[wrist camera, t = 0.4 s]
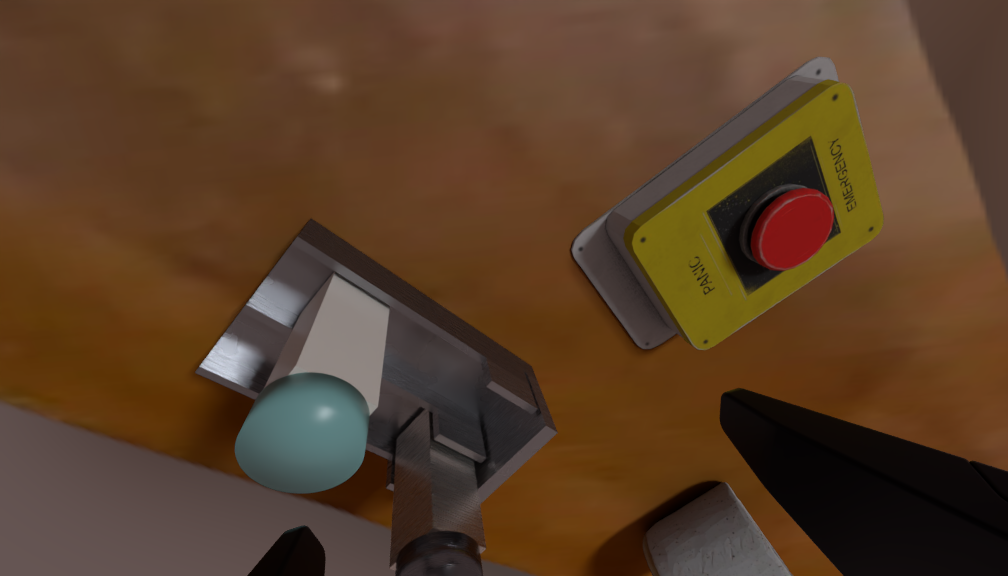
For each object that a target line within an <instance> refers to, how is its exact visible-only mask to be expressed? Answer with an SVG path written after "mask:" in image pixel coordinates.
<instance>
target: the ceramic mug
mask: <svg viewBox="0 0 1008 576" xmlns="http://www.w3.org/2000/svg"><path fill="white" fill-rule="evenodd" d="M643 551H644V554H645V557H646V560H647V563H648V566H649V568H650V570H651V573H652V575H653V576H793V575H792V574H791V573H790V571H789V570H788V568H787V567H786V565H785V564H784V563H783V561H782V560H781V558H780V557H779V555H778V554H777V553H776V551H775V550H774V548H773V547H772V546H771V544H770V543H769V541H768V540H767V539H766V537H765V536H764V535H763V533H762V532H761V530H760V529H759V527H758V526H757V525H756V523H755V522H754V520H753V519H752V517H751V516H750V514H749V513H748V512H747V510H746V509H745V507H744V506H743V505H742V503H741V501H740V500H739V499H738V498H737V496H736V495H735V493H734V492H733V490H732V489H731V488H730V486H729V485H728V484H727V483H726V482H724V483H721V484H719V485H718V486H716V487H714V488H713V489H711V490H709V491H708V492H706V493H705V494H703V495H701V496H700V497H698V498H696V499H694V500H693V501H691V502H690V503H688V504H687V505H685V506H684V507H682V508H680V509H679V510H677V511H676V512H674V513H672V514H670V515H669V516H667V517H665V518H664V519H662V520H660V521H658V522H657V523H656V524H655V525H654V526H652V527H651V528H650V529H649V530H648V531H647V532H646V533H645V534H644V538H643Z"/></svg>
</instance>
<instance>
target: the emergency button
mask: <svg viewBox="0 0 1008 576" xmlns="http://www.w3.org/2000/svg"><path fill="white" fill-rule="evenodd" d="M883 220H884V216H883V211H882V207H881V203H880V199H879V195H878V191H877V187H876V183H875V178H874V174H873V170H872V166H871V162H870V158H869V154H868V149H867V145H866V141H865V137H864V133H863V129H862V125H861V120H860V116H859V112H858V108H857V104H856V100H855V96H854V92H853V90H852V89H851V87H850V85H849V84H846V83H842V82H839V80H838V76H837V72H836V68H835V65H834V64H833V62H832V61H831V59H830V58H826V57H816V58H814V59H812V60H810V61H808V62H806V63H804V64H803V65H802V66H800V67H799V68H798V69H796V70H795V71H794V72H792V73H791V74H790V75H788V76H787V77H786V78H784V79H783V80H782V81H780V82H779V83H778V84H776V85H775V86H774V87H772V88H771V89H770V90H768V91H767V92H766V93H764V94H763V95H762V96H760V97H759V98H758V99H756V100H755V101H754V102H752V103H751V104H750V105H748V106H747V107H746V108H744V109H743V110H742V111H740V112H739V113H738V114H736V115H735V116H734V117H732V118H731V119H730V120H728V121H727V122H726V123H724V124H723V125H722V126H720V127H719V128H718V129H716V130H715V131H714V132H712V133H711V134H710V135H708V136H707V137H706V138H705V139H703V140H702V141H701V142H699V143H698V144H697V145H695V146H694V147H693V148H691V149H690V150H689V151H687V152H686V153H685V154H683V155H682V156H681V157H679V158H678V159H677V160H675V161H674V162H673V163H671V164H670V165H669V166H667V167H666V168H665V169H663V170H662V171H661V172H659V173H658V174H657V175H655V176H654V177H653V178H651V179H650V180H649V181H647V182H646V183H645V184H643V185H642V186H641V187H639V188H638V189H637V190H635V191H634V192H633V193H631V194H630V195H629V196H627V197H626V198H625V199H623V200H622V201H621V202H619V203H618V204H617V205H615V206H614V207H613V208H611V209H610V210H609V211H607V212H606V213H605V214H603V215H602V216H601V217H599V218H598V219H597V220H595V221H594V222H593V223H591V224H590V225H589V226H587V227H586V228H585V229H583V230H582V231H581V232H580V233H579V234H578V235H577V237H576V238H575V239H574V241H573V244H572V248H571V250H572V254H573V257H574V259H575V260H576V261H577V263H578V264H579V266H580V267H581V268H582V270H583V271H584V272H585V274H586V275H587V277H588V278H589V279H590V281H591V282H592V284H593V285H594V286H595V288H596V289H597V290H598V292H599V293H600V295H601V296H602V297H603V299H604V300H605V301H606V303H607V304H608V306H609V307H610V308H611V310H612V311H613V313H614V314H615V315H616V317H617V318H618V319H619V321H620V322H621V324H622V325H623V326H624V328H625V329H626V331H627V332H628V333H629V335H630V336H631V337H632V339H633V340H634V342H635V343H636V344H637V345H638V346H639V347H641V348H642V349H652V348H654V347H656V346H658V345H660V344H662V343H663V342H665V341H666V340H668V339H669V338H671V337H672V336H674V335H675V334H676V333H677V334H679V335H680V336H681V337H682V338H684V340H685V341H686V342H688V343H689V344H690V345H692V346H693V347H695V348H696V349H698V350H706V349H709V348H711V347H713V346H715V345H716V344H718V343H719V342H721V341H722V340H724V339H725V338H727V337H728V336H730V335H731V334H733V333H734V332H736V331H737V330H739V329H740V328H742V327H743V326H744V325H746V324H747V323H749V322H750V321H752V320H753V319H755V318H756V317H758V316H759V315H761V314H762V313H764V312H765V311H767V310H768V309H770V308H771V307H773V306H774V305H776V304H777V303H779V302H780V301H782V300H783V299H785V298H786V297H788V296H789V295H791V294H792V293H794V292H795V291H797V290H798V289H800V288H801V287H802V286H804V285H805V284H807V283H808V282H810V281H811V280H813V279H814V278H816V277H817V276H819V275H820V274H822V273H823V272H825V271H826V270H828V269H829V268H831V267H832V266H834V265H835V264H837V263H838V262H840V261H841V260H843V259H844V258H846V257H847V256H849V255H850V254H852V253H853V252H855V251H856V250H858V249H859V248H860V247H862V246H863V245H865V244H866V243H868V242H869V241H871V240H872V239H873V238H874V237H875V236H876V235H877V234H879V232H880V230H881V228H882V226H883Z"/></svg>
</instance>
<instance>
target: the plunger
mask: <svg viewBox="0 0 1008 576" xmlns="http://www.w3.org/2000/svg"><path fill="white" fill-rule="evenodd" d="M389 309H390V305H388V304H386V303H385V302H383V301H382V300H380V299H378V298H377V297H375V296H374V295H372V294H371V293H369V292H367V291H366V290H364V289H363V288H361V287H359V286H358V285H356V284H355V283H353V282H351V281H350V280H348V279H347V278H345V277H344V276H342V275H340V274H339V273H337V272H336V271H334V272H333V274H332V275H331V276H330V277H329V279H328V280H327V281H326V282H325V284H324V285H323V286H322V287H321V289H320V290H319V291H318V292H317V294H316V295H315V296H314V297H313V299H312V300H311V301H310V302H309V304H308V305H307V306H306V307H305V309H304V310H303V311H302V312H301V314H300V316H299V318H298V320H297V322H296V324H295V326H294V328H293V330H292V332H291V334H290V336H289V338H288V340H287V342H286V344H285V346H284V348H283V350H282V352H281V354H280V356H279V359H278V361H277V363H276V365H275V367H274V369H273V371H272V373H271V375H270V377H269V379H268V381H267V383H266V385H265V387H264V389H263V390H262V391H261V392H260V394H259V395H258V396H257V398H256V400H255V402H254V404H253V406H252V408H251V410H250V412H249V414H248V416H247V418H246V420H245V422H244V424H243V426H242V428H241V430H240V432H239V434H238V436H237V439H236V443H235V455H236V459H237V461H238V463H239V465H240V467H241V468H242V470H243V471H244V472H245V473H246V474H247V475H248V476H249V477H250V478H251V479H253V480H254V481H256V482H257V483H259V484H261V485H263V486H265V487H268V488H270V489H273V490H277V491H281V492H287V493H300V494H302V493H314V492H319V491H324V490H327V489H330V488H333V487H335V486H338V485H339V484H341V483H343V482H345V481H346V480H348V479H349V478H350V477H351V476H352V475H353V474H355V472H356V471H357V470H358V469H359V467H360V465H361V464H362V461H363V459H364V455H365V448H366V441H367V434H368V427H369V419H370V415H371V414H372V413H373V412H374V410H375V409H376V408H377V407H378V402H379V394H380V385H381V377H382V368H383V360H384V351H385V343H386V335H387V326H388V318H389Z"/></svg>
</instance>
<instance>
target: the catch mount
mask: <svg viewBox="0 0 1008 576" xmlns="http://www.w3.org/2000/svg"><path fill="white" fill-rule="evenodd" d="M334 271H336V272H337V273H339V274H340V275H342V276H344V277H345V278H347V279H348V280H350V281H351V282H353V283H355V284H356V285H358V286H359V287H361V288H363V289H364V290H366V291H367V292H369V293H371V294H372V295H374V296H375V297H377V298H378V299H380V300H382V301H383V302H385V303H386V304H388V305H390V309H389V318H388V326H387V335H386V343H385V351H384V360H383V368H382V377H381V385H380V394H379V402H378V407H377V408H376V409H375V410H374V412H373V413H372V414H371V415H370V419H369V427H368V434H367V441H366V448H365V449H366V450H368V451H370V452H373V453H375V454H377V455H379V456H382V457H384V458H386V459H388V466H387V479H386V488H387V489H389V490H391V491H394V495H393V512H392V530H391V548H390V549H391V550H390V565H389V568H390V569H392V570H396V572H395V574H396V575H395V576H483V571H482V564H481V556H480V554H481V553H482V552H483V551H484V550H485V549H486V543H485V536H484V529H483V522H482V515H481V508H480V504H481V503H482V502H483V501H484V500H485V499H486V498H487V497H488V496H489V495H490V494H492V493H493V492H494V491H495V490H496V489H497V488H498V487H499V486H500V485H501V484H502V483H504V482H505V481H506V480H507V479H508V478H509V477H510V476H511V475H512V474H513V473H514V472H515V471H517V470H518V469H519V468H520V467H521V466H522V465H523V464H524V463H525V462H526V461H527V460H528V459H530V458H531V457H532V456H533V455H534V454H535V453H536V452H537V451H538V450H539V449H540V448H542V447H543V446H544V445H545V444H546V443H547V442H548V441H549V440H550V439H551V438H552V437H553V436H555V435H556V434H557V433H558V432H557V430H556V427H555V425H554V422H553V420H552V417H551V414H550V412H549V409H548V407H547V404H546V402H545V399H544V397H543V394H542V391H541V389H540V386H539V384H538V381H537V379H536V376H535V374H534V371H533V369H532V366H530V365H529V364H527V363H526V362H524V361H523V360H521V359H520V358H518V357H517V356H515V355H514V354H512V353H511V352H509V351H508V350H506V349H505V348H503V347H502V346H500V345H499V344H497V343H496V342H494V341H493V340H492V339H490V338H489V337H487V336H486V335H484V334H483V333H481V332H480V331H478V330H477V329H475V328H474V327H472V326H471V325H469V324H468V323H466V322H465V321H463V320H462V319H460V318H459V317H457V316H456V315H454V314H453V313H451V312H450V311H448V310H447V309H445V308H444V307H442V306H441V305H439V304H438V303H436V302H435V301H433V300H432V299H430V298H429V297H427V296H426V295H424V294H423V293H421V292H420V291H418V290H417V289H416V288H414V287H413V286H411V285H410V284H408V283H407V282H405V281H404V280H402V279H401V278H399V277H398V276H396V275H395V274H393V273H392V272H390V271H389V270H387V269H386V268H384V267H383V266H381V265H380V264H378V263H377V262H375V261H374V260H372V259H371V258H369V257H368V256H366V255H365V254H363V253H362V252H360V251H359V250H357V249H356V248H354V247H353V246H351V245H350V244H348V243H347V242H345V241H344V240H342V239H341V238H340V237H338V236H337V235H335V234H334V233H332V232H331V231H329V230H328V229H326V228H325V227H323V226H322V225H320V224H319V223H317V222H316V221H314V220H313V219H310V220H309V221H308V223H307V224H306V225H305V227H304V228H303V229H302V231H301V232H300V233H299V235H298V236H297V237H296V239H295V240H294V241H293V243H292V244H291V245H290V247H289V248H288V249H287V251H286V252H285V253H284V255H283V256H282V257H281V259H280V260H279V261H278V263H277V264H276V265H275V267H274V268H273V269H272V271H271V272H270V273H269V275H268V276H267V277H266V279H265V280H264V281H263V283H262V284H261V285H260V286H259V288H258V289H257V290H256V292H255V293H254V294H253V296H252V297H251V298H250V300H249V301H248V302H247V304H246V305H245V306H244V308H243V309H242V310H241V312H240V313H239V314H238V316H237V317H236V318H235V320H234V321H233V322H232V324H231V325H230V326H229V328H228V329H227V330H226V332H225V333H224V334H223V336H222V337H221V338H220V340H219V341H218V342H217V344H216V345H215V346H214V348H213V349H212V350H211V352H210V353H209V354H208V356H207V357H206V358H205V360H204V361H203V362H202V364H201V365H200V366H199V368H198V369H197V370H196V372H195V373H197V374H199V375H201V376H203V377H206V378H208V379H210V380H212V381H215V382H217V383H219V384H221V385H223V386H226V387H228V388H230V389H232V390H235V391H237V392H239V393H241V394H243V395H246V396H248V397H250V398H252V399H255V400H256V398H257V396H258V395H259V394H260V392H261V391H262V390H263V389H264V387H265V385H266V383H267V381H268V379H269V377H270V375H271V373H272V371H273V369H274V367H275V365H276V363H277V361H278V359H279V356H280V354H281V352H282V350H283V348H284V346H285V344H286V342H287V340H288V338H289V336H290V334H291V332H292V330H293V328H294V326H295V324H296V322H297V320H298V318H299V316H300V314H301V312H302V311H303V310H304V309H305V307H306V306H307V305H308V304H309V302H310V301H311V300H312V299H313V297H314V296H315V295H316V294H317V292H318V291H319V290H320V289H321V287H322V286H323V285H324V284H325V282H326V281H327V280H328V279H329V277H330V276H331V275H332V274H333V272H334Z"/></svg>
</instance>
